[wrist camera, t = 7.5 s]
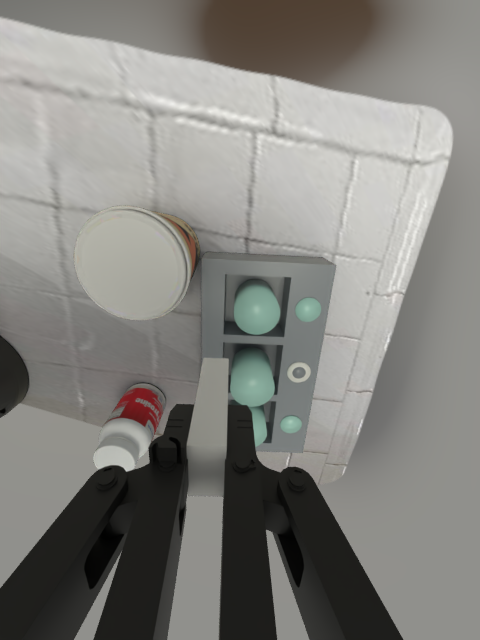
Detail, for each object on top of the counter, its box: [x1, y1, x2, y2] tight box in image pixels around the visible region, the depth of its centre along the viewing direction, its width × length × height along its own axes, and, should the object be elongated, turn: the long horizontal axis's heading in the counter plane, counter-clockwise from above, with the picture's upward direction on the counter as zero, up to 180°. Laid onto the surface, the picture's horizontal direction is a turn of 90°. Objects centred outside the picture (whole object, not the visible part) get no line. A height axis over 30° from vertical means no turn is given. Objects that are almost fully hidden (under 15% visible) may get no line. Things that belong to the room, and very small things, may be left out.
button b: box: [230, 347, 275, 407], centre depth 32 cm, size 5×5×5 cm
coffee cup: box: [74, 206, 200, 321], centre depth 27 cm, size 9×9×12 cm
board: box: [201, 252, 336, 453], centre depth 35 cm, size 14×26×5 cm, turn 177°
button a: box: [230, 400, 267, 447], centre depth 37 cm, size 5×5×5 cm
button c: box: [234, 279, 280, 335], centre depth 31 cm, size 5×5×5 cm
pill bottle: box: [93, 383, 166, 472], centre depth 36 cm, size 6×6×11 cm
